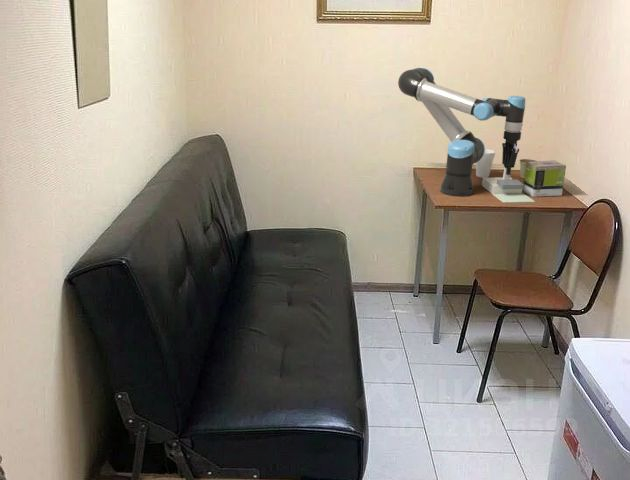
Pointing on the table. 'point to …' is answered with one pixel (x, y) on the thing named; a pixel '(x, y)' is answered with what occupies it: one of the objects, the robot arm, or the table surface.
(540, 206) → the table surface
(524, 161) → the flower pot
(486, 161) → the foam cup
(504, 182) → the rectangular block
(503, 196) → the mat
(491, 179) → the plate
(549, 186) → the tea box
